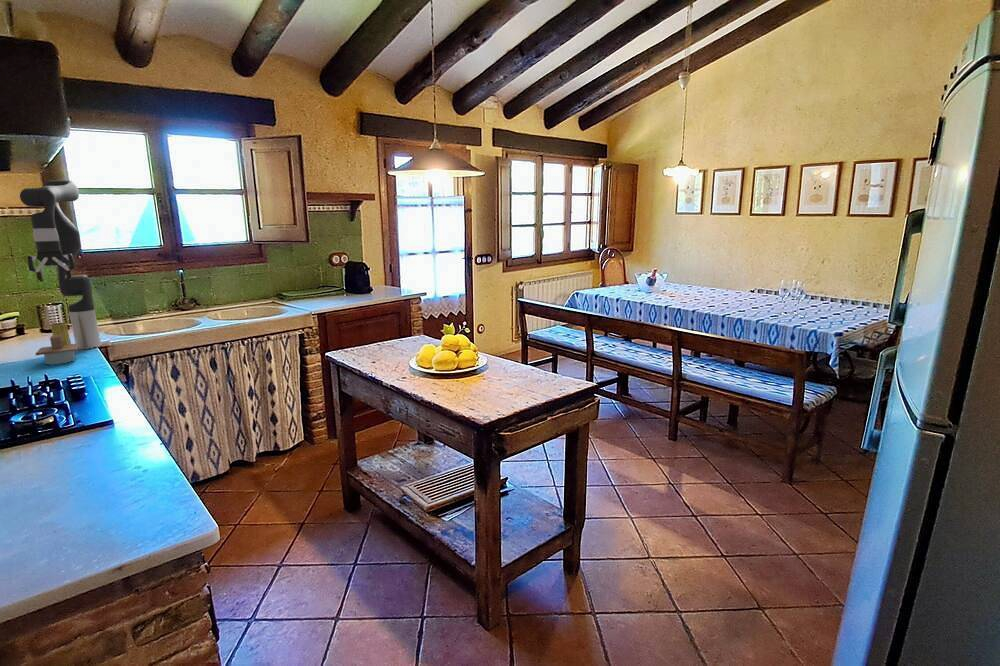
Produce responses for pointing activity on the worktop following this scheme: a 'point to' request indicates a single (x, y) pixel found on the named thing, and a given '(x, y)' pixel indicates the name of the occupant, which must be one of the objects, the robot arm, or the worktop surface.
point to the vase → (61, 332)
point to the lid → (57, 346)
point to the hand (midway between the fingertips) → (55, 280)
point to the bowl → (59, 357)
